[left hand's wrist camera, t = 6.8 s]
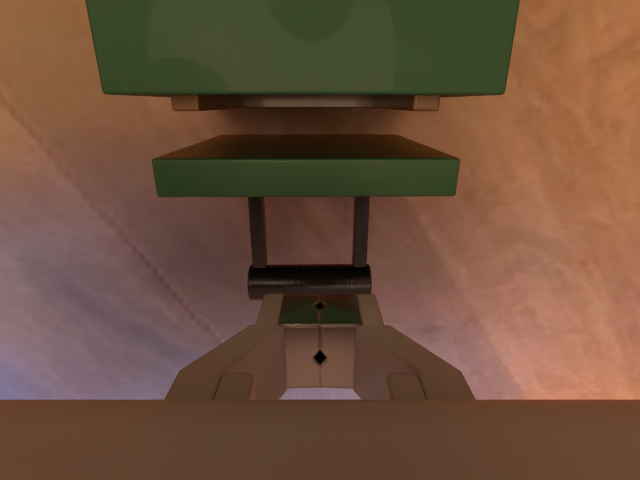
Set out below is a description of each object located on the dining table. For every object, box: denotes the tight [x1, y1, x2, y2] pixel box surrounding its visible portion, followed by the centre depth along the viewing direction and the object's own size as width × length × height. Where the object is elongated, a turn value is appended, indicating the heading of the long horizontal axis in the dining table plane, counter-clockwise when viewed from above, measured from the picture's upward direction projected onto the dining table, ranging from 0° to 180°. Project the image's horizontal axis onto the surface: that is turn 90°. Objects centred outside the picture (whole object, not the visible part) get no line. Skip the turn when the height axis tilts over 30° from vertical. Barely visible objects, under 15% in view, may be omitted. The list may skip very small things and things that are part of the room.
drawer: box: [152, 95, 460, 300], centre depth 15 cm, size 18×9×9 cm, turn 0°
